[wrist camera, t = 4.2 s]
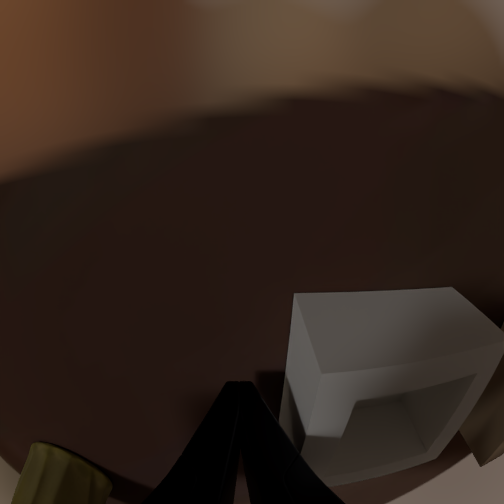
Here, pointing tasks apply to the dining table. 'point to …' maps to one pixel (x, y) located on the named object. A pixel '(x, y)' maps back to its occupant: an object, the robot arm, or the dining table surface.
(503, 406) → the backstop
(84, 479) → the olive ribbed cylinder
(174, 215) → the dining table surface
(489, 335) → the socket block
